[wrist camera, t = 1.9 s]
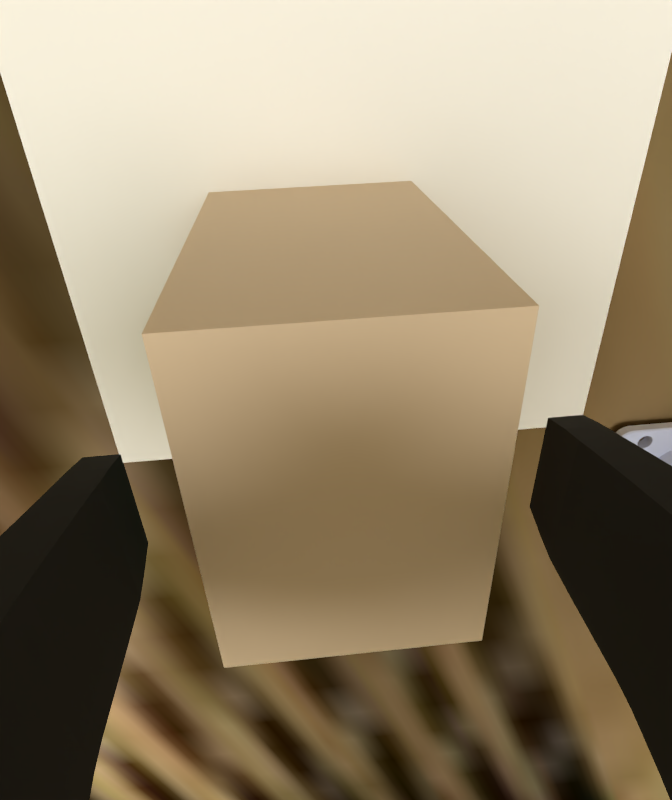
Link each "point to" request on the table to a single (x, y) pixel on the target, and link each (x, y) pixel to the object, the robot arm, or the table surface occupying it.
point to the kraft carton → (340, 417)
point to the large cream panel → (336, 146)
